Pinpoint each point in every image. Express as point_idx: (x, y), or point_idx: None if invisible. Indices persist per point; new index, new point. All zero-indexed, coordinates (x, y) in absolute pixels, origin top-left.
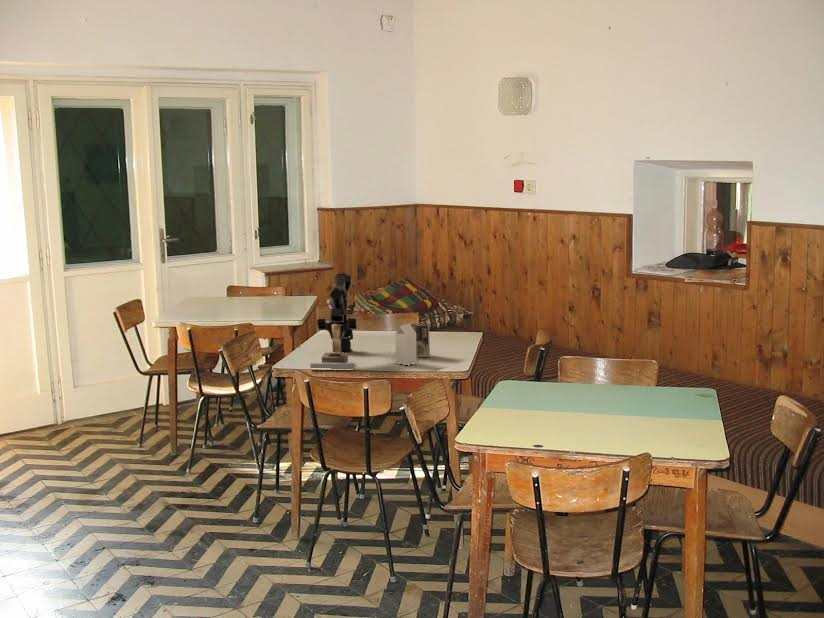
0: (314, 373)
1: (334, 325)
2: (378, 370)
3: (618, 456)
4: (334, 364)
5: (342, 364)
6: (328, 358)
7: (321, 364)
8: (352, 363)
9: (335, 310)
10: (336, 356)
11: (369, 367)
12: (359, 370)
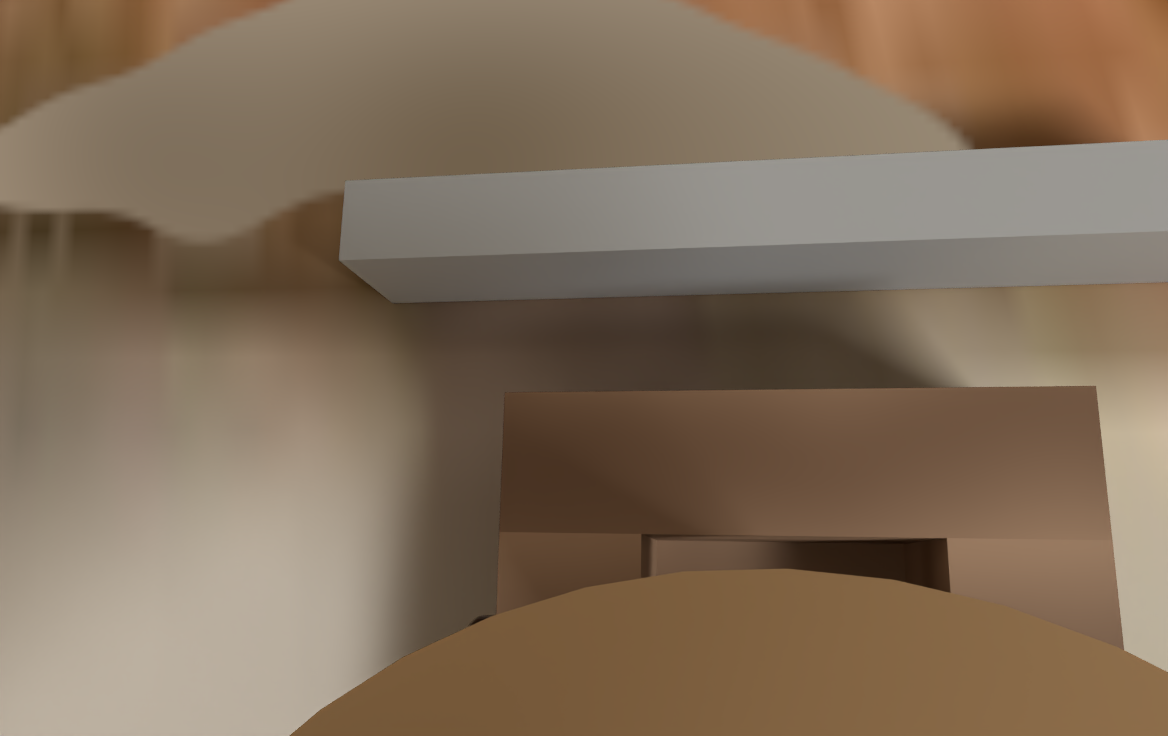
0: (1058, 48)
1: (974, 605)
2: (15, 287)
3: None
4: (713, 170)
5: (551, 175)
6: (905, 390)
7: (998, 156)
8: (356, 196)
9: None
10: (724, 526)
11: (140, 493)
12: (300, 281)
